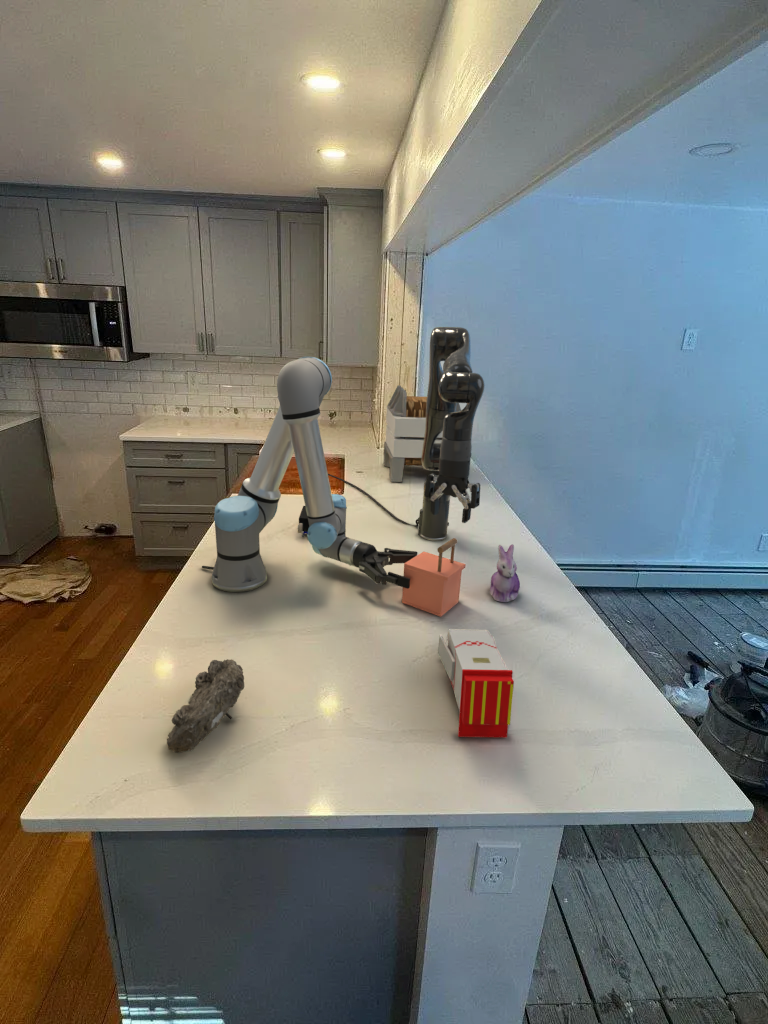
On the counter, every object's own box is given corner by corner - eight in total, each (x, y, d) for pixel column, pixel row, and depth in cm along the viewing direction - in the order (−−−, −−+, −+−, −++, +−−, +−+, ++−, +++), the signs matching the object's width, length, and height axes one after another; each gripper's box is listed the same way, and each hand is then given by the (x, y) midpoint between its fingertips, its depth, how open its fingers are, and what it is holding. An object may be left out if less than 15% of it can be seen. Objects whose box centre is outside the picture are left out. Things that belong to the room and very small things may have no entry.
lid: (465, 567, 151) (468, 540, 148) (447, 581, 143) (450, 552, 140) (423, 554, 158) (425, 528, 155) (403, 566, 150) (405, 539, 147)
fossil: (192, 660, 117) (244, 628, 112) (224, 691, 120) (276, 661, 115) (142, 746, 98) (202, 712, 93) (182, 779, 101) (242, 748, 96)
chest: (458, 601, 155) (462, 566, 152) (440, 616, 147) (444, 580, 144) (420, 588, 161) (423, 554, 158) (401, 602, 153) (403, 567, 150)
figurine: (502, 606, 153) (509, 556, 148) (479, 590, 162) (485, 541, 157) (529, 600, 157) (536, 550, 152) (505, 584, 166) (512, 537, 161)
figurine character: (316, 543, 192) (320, 523, 205) (316, 523, 188) (320, 504, 202) (297, 543, 191) (302, 522, 205) (296, 523, 188) (301, 503, 202)
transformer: (382, 463, 289) (386, 382, 275) (445, 464, 293) (451, 384, 279) (390, 482, 257) (394, 392, 243) (460, 483, 261) (468, 394, 247)
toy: (488, 613, 130) (523, 677, 101) (484, 667, 133) (517, 744, 104) (435, 612, 130) (455, 676, 101) (432, 666, 133) (451, 743, 103)
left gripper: (382, 552, 176) (442, 571, 165) (331, 581, 156) (396, 604, 145) (383, 530, 173) (444, 547, 162) (332, 556, 154) (398, 578, 143)
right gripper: (422, 453, 139) (418, 515, 145) (475, 464, 132) (468, 529, 137) (437, 448, 145) (432, 508, 150) (488, 458, 138) (481, 520, 143)
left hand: (422, 574), depth 154 cm, fingers open, 13 cm apart
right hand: (449, 518), depth 144 cm, fingers open, 8 cm apart
